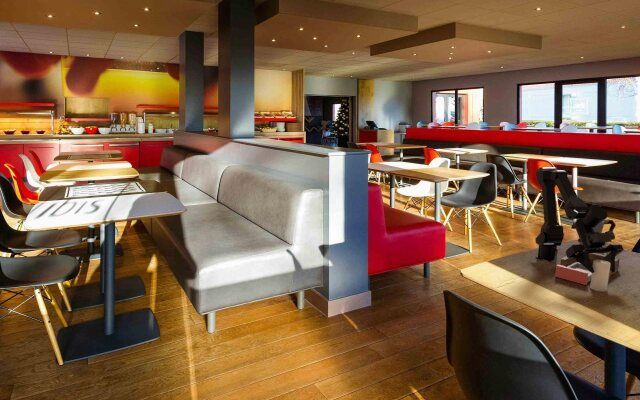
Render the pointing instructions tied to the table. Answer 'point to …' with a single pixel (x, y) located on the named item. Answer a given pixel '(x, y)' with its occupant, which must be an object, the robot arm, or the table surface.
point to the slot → (592, 257)
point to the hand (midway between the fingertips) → (603, 272)
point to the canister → (600, 275)
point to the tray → (574, 273)
